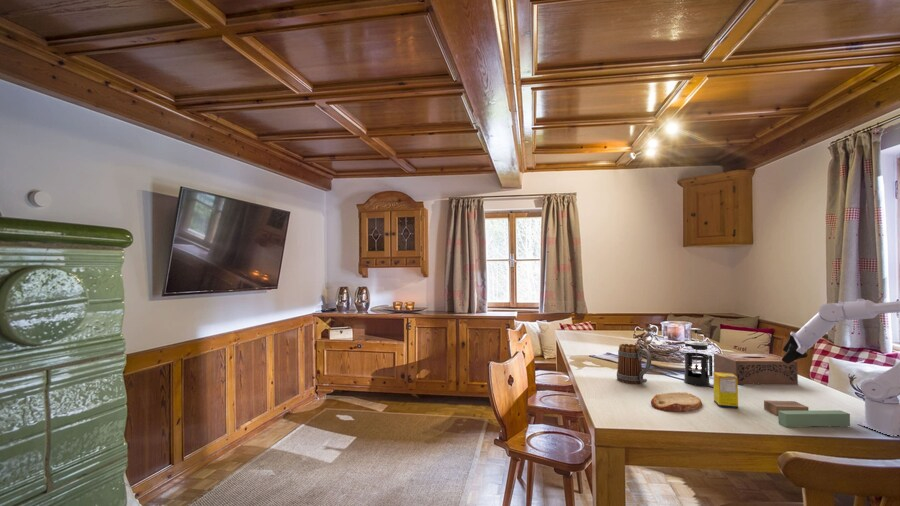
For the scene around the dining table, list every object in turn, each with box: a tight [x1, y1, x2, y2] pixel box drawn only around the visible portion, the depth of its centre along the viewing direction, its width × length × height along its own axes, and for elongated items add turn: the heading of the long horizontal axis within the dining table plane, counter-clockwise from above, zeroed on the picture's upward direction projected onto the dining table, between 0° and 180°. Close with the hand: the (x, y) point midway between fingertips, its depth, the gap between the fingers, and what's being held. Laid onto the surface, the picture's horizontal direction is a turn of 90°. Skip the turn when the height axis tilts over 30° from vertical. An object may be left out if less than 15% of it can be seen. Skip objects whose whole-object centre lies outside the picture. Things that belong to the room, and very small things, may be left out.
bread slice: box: [650, 391, 703, 413], centre depth 147 cm, size 18×18×4 cm
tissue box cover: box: [713, 353, 799, 386], centre depth 179 cm, size 26×14×10 cm, turn 90°
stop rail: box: [777, 409, 851, 428], centre depth 128 cm, size 3×20×4 cm, turn 91°
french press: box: [683, 327, 714, 387], centre depth 174 cm, size 12×9×23 cm
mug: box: [616, 343, 652, 385], centre depth 175 cm, size 16×11×15 cm
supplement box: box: [712, 371, 739, 409], centre depth 147 cm, size 6×6×11 cm
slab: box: [763, 399, 810, 417], centre depth 139 cm, size 6×10×4 cm, turn 86°
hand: (785, 356), depth 149 cm, fingers open, 7 cm apart
